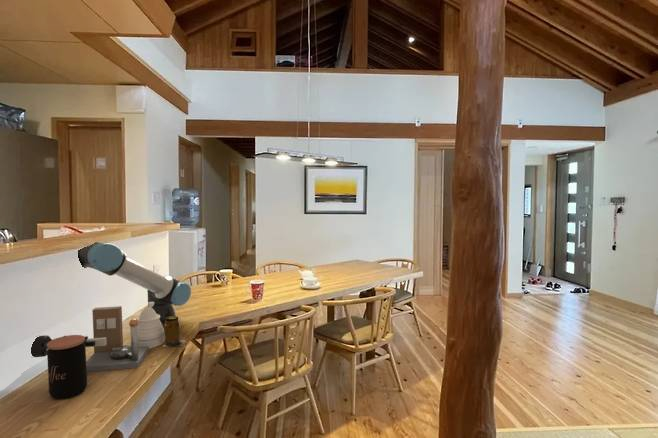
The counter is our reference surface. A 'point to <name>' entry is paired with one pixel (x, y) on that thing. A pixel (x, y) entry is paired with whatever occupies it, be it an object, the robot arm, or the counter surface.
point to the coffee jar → (67, 366)
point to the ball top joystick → (128, 350)
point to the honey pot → (149, 328)
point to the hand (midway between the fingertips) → (105, 341)
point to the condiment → (172, 332)
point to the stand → (110, 341)
